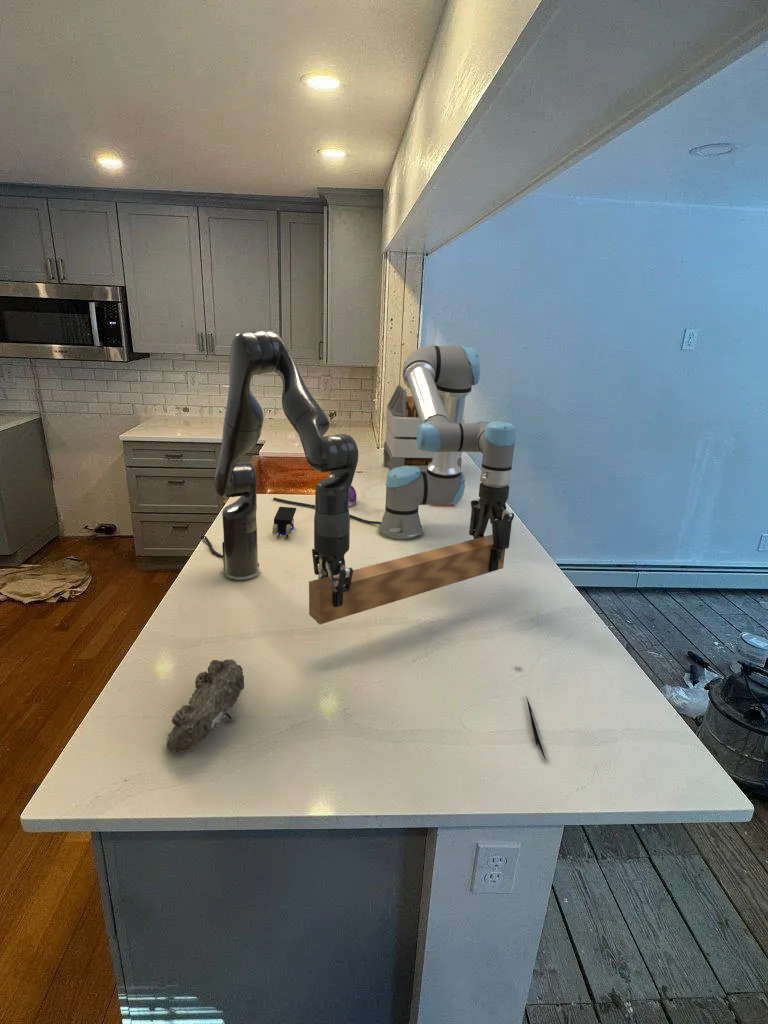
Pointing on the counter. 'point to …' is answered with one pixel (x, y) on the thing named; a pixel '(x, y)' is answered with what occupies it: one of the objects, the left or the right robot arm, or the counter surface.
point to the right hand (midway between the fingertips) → (485, 566)
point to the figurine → (352, 496)
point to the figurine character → (284, 521)
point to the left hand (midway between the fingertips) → (331, 600)
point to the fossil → (206, 705)
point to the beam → (402, 578)
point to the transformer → (404, 433)
